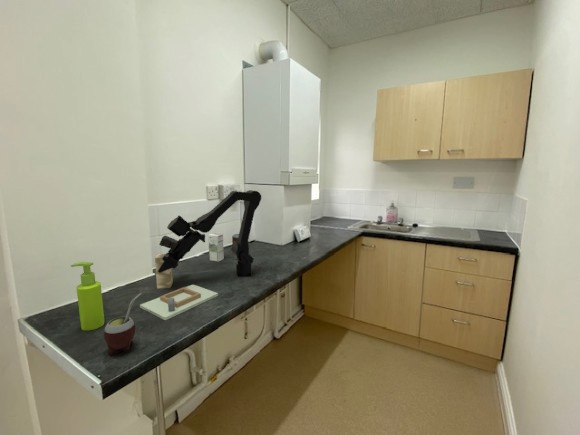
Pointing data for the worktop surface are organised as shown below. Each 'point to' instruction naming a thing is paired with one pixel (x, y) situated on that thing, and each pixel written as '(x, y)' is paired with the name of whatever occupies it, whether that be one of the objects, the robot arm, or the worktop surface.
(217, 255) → the syrup box
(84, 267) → the soap dispenser
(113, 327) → the mate gourd
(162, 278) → the pine post
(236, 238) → the soda can
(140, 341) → the worktop surface
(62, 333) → the worktop surface
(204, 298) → the seat plate
